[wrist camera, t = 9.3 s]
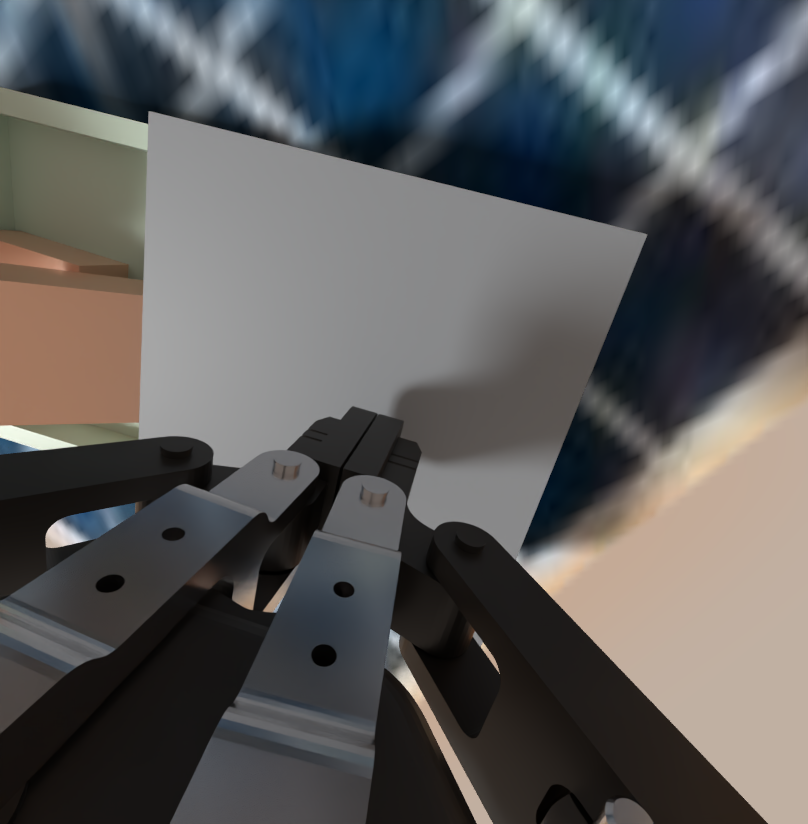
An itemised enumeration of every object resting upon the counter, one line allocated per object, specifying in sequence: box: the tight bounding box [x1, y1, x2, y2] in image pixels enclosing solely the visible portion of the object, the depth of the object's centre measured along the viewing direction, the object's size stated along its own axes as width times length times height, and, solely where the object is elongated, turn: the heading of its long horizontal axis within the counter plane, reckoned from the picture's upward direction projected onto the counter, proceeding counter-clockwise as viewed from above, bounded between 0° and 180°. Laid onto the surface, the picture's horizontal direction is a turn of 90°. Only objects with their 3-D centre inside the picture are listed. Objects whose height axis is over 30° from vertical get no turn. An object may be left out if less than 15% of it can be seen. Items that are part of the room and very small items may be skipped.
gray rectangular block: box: [139, 111, 647, 647], centre depth 17 cm, size 14×13×6 cm
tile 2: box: [0, 263, 143, 426], centre depth 17 cm, size 5×5×2 cm
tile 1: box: [0, 230, 129, 278], centre depth 19 cm, size 5×5×2 cm
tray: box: [0, 87, 148, 450], centre depth 19 cm, size 14×10×2 cm
